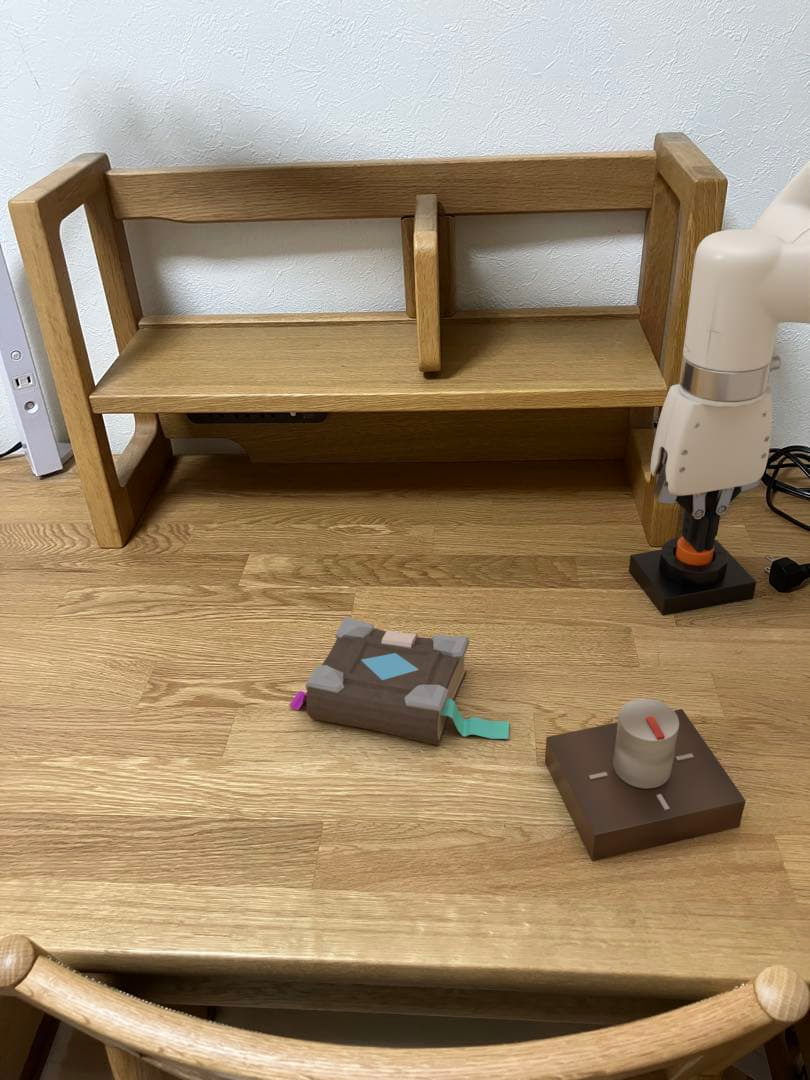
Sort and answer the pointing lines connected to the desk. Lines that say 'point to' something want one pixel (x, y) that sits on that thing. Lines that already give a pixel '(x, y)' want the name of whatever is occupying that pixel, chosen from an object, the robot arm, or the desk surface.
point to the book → (393, 684)
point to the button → (692, 554)
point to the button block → (690, 579)
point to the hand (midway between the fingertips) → (697, 543)
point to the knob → (645, 743)
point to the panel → (640, 792)
